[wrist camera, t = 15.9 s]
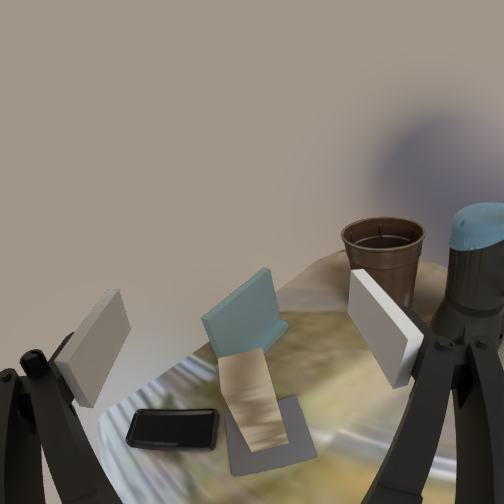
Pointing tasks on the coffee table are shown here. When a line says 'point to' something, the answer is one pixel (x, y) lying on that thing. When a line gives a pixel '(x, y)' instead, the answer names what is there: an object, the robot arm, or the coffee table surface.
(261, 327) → the standing board
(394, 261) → the plant pot
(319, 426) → the coffee table surface
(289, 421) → the charcoal mat
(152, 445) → the phone
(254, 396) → the tall tan block
